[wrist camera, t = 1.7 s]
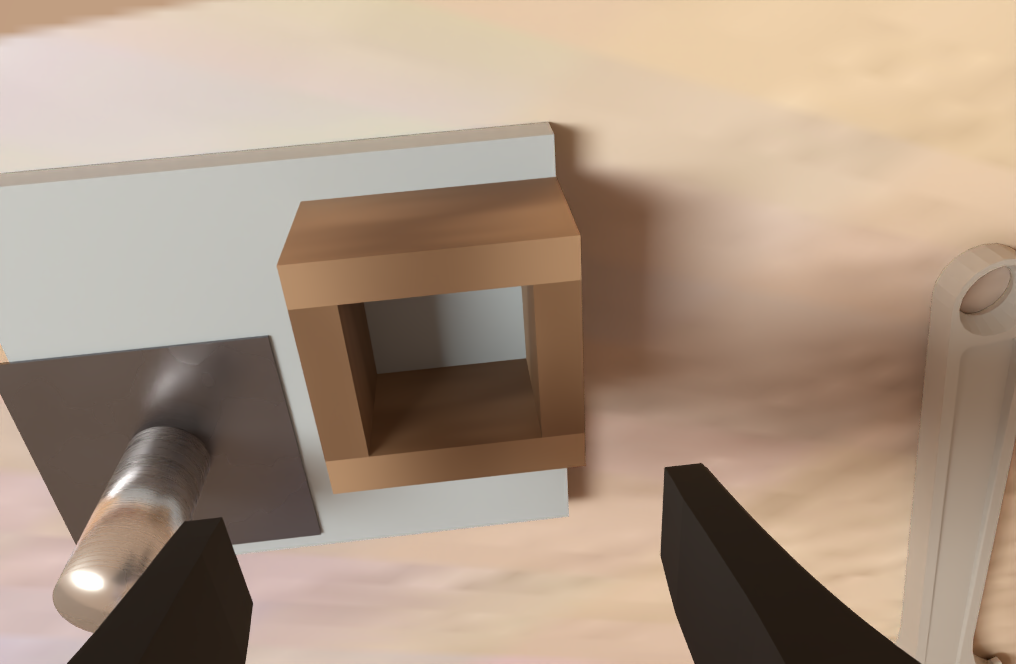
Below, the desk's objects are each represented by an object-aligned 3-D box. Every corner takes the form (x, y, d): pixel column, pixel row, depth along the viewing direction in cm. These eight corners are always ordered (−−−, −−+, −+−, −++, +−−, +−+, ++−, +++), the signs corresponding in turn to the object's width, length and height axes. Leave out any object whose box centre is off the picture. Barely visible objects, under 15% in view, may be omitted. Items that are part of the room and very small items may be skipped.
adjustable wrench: (923, 242, 22) (959, 270, 20) (1144, 212, 22) (1197, 236, 21) (830, 751, 35) (849, 791, 33) (971, 730, 35) (996, 769, 33)
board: (548, 121, 19) (553, 134, 18) (563, 494, 25) (569, 516, 24) (-49, 178, 18) (-72, 193, 17) (120, 544, 24) (109, 569, 23)
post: (268, 335, 20) (224, 463, 16) (321, 532, 23) (298, 680, 19) (-12, 364, 20) (-135, 503, 15) (85, 559, 23) (8, 716, 19)
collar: (555, 176, 18) (580, 235, 15) (564, 384, 21) (585, 465, 19) (300, 201, 18) (276, 265, 15) (346, 407, 21) (333, 494, 18)
